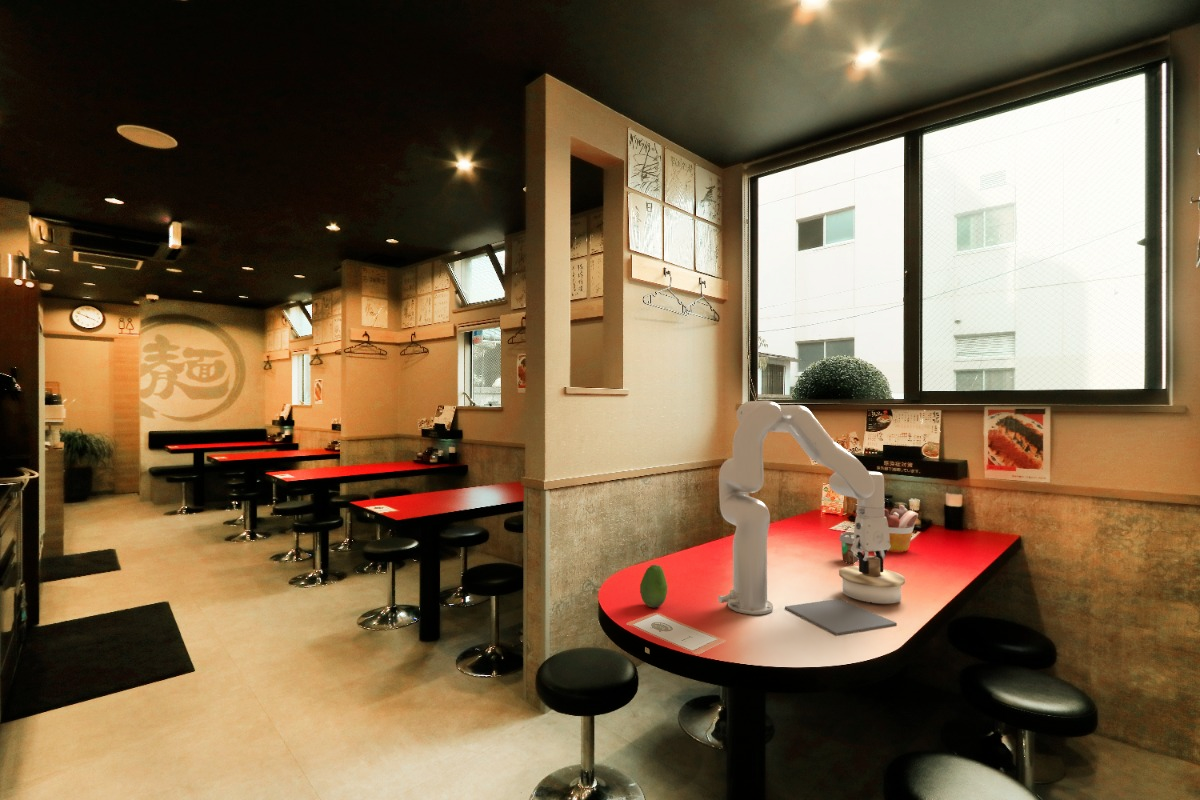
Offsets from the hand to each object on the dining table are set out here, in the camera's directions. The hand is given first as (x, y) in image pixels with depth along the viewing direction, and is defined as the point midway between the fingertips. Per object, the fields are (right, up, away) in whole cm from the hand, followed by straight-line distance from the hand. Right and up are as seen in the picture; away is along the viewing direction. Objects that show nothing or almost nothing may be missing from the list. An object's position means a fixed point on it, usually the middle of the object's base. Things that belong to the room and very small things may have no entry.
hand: (871, 571), depth 167 cm
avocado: (-67, -8, -8) cm, 68 cm away
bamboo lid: (0, -2, 0) cm, 2 cm away
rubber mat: (-17, -8, -16) cm, 24 cm away
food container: (+12, -9, +41) cm, 44 cm away
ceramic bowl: (0, -8, 0) cm, 8 cm away
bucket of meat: (+37, -10, +59) cm, 70 cm away
